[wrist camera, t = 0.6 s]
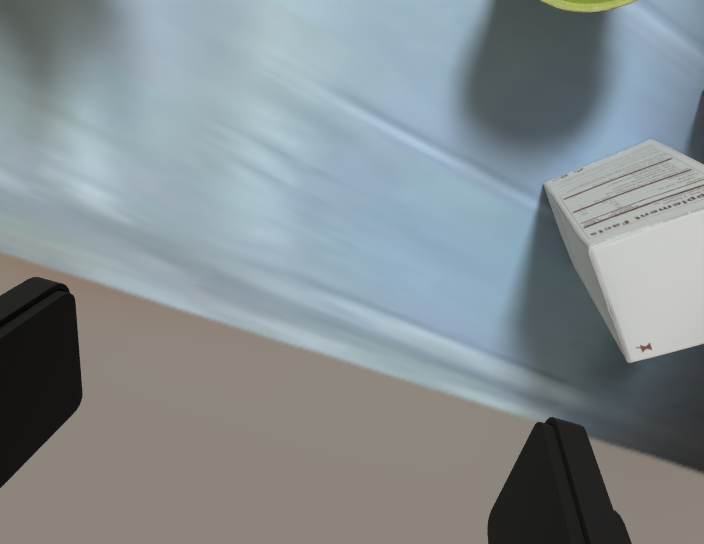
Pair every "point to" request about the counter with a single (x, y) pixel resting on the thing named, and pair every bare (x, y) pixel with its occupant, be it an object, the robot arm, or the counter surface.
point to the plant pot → (587, 4)
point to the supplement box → (638, 244)
